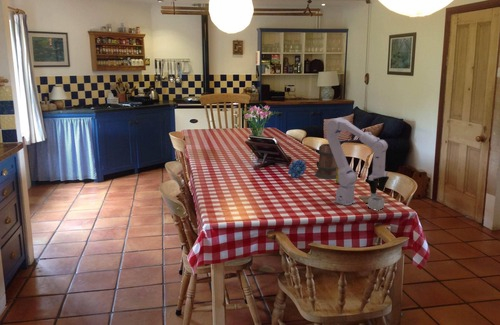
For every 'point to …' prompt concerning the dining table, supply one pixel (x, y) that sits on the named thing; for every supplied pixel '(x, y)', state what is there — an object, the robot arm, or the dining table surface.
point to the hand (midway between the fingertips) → (377, 191)
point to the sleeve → (376, 203)
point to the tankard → (326, 163)
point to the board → (365, 198)
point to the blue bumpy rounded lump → (297, 168)
